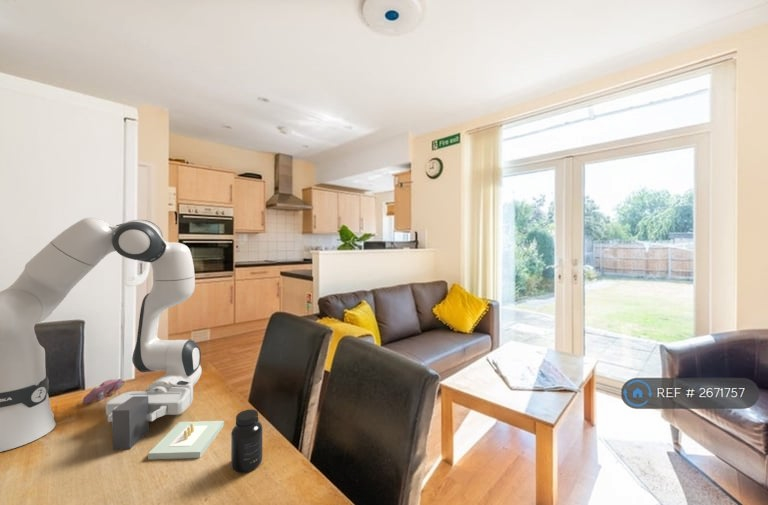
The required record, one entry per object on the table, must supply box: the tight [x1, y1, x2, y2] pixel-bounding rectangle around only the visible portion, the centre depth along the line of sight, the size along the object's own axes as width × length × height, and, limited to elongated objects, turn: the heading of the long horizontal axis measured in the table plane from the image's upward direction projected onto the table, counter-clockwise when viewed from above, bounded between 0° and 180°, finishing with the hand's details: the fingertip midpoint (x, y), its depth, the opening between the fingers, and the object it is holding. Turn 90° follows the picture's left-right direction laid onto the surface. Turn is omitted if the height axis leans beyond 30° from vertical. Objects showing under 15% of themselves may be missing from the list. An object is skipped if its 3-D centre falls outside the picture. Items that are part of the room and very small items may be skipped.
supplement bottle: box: [230, 408, 263, 474], centre depth 74 cm, size 7×7×12 cm
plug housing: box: [112, 396, 150, 451], centre depth 82 cm, size 4×7×10 cm, turn 4°
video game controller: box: [82, 377, 125, 405], centre depth 103 cm, size 10×5×7 cm, turn 169°
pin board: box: [147, 420, 225, 460], centre depth 82 cm, size 12×13×4 cm
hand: (129, 419), depth 81 cm, fingers open, 8 cm apart
